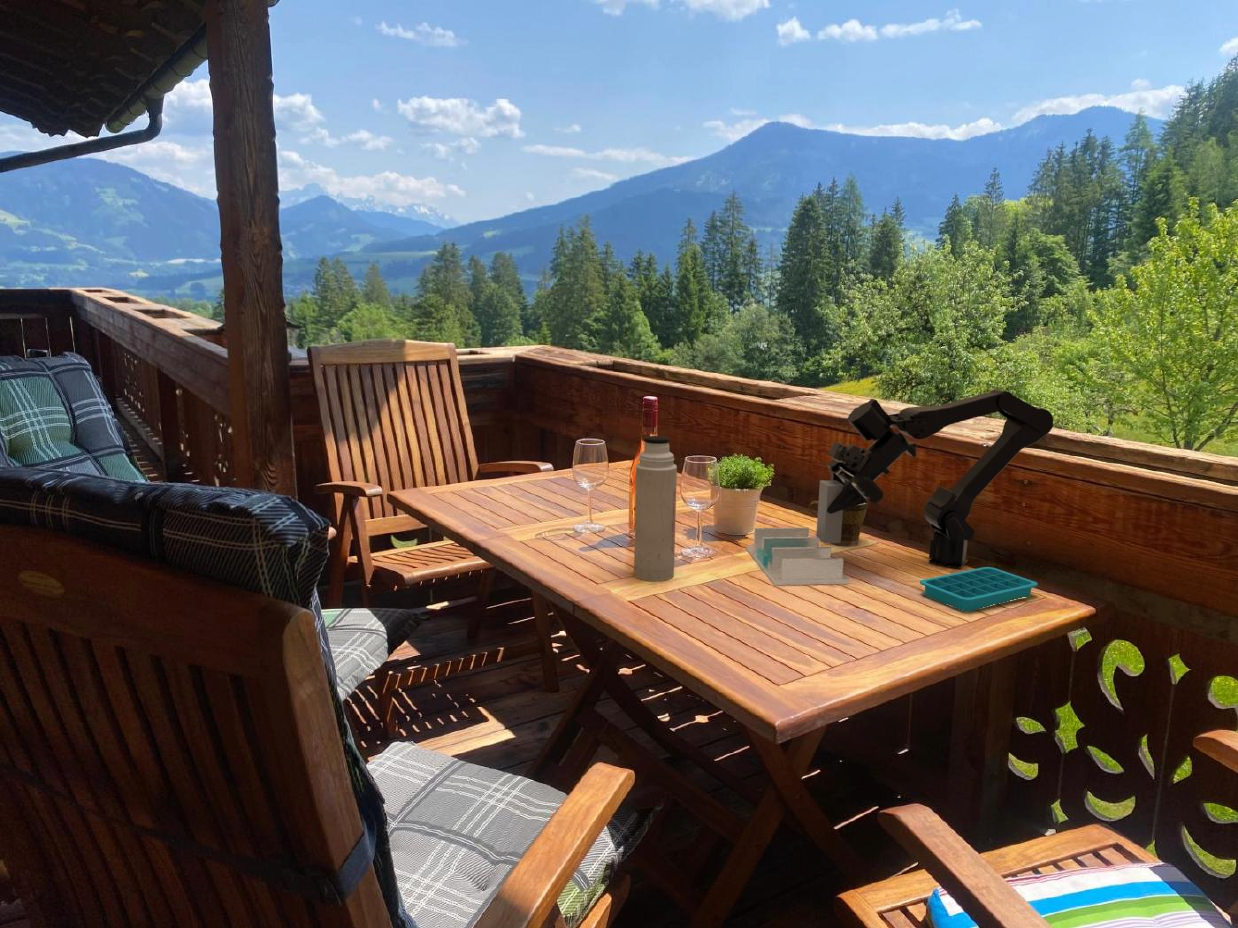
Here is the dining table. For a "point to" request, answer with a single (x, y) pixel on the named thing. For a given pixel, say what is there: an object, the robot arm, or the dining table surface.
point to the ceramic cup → (850, 523)
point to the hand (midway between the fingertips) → (823, 508)
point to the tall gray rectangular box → (826, 522)
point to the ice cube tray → (977, 588)
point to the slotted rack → (795, 557)
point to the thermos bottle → (655, 511)
